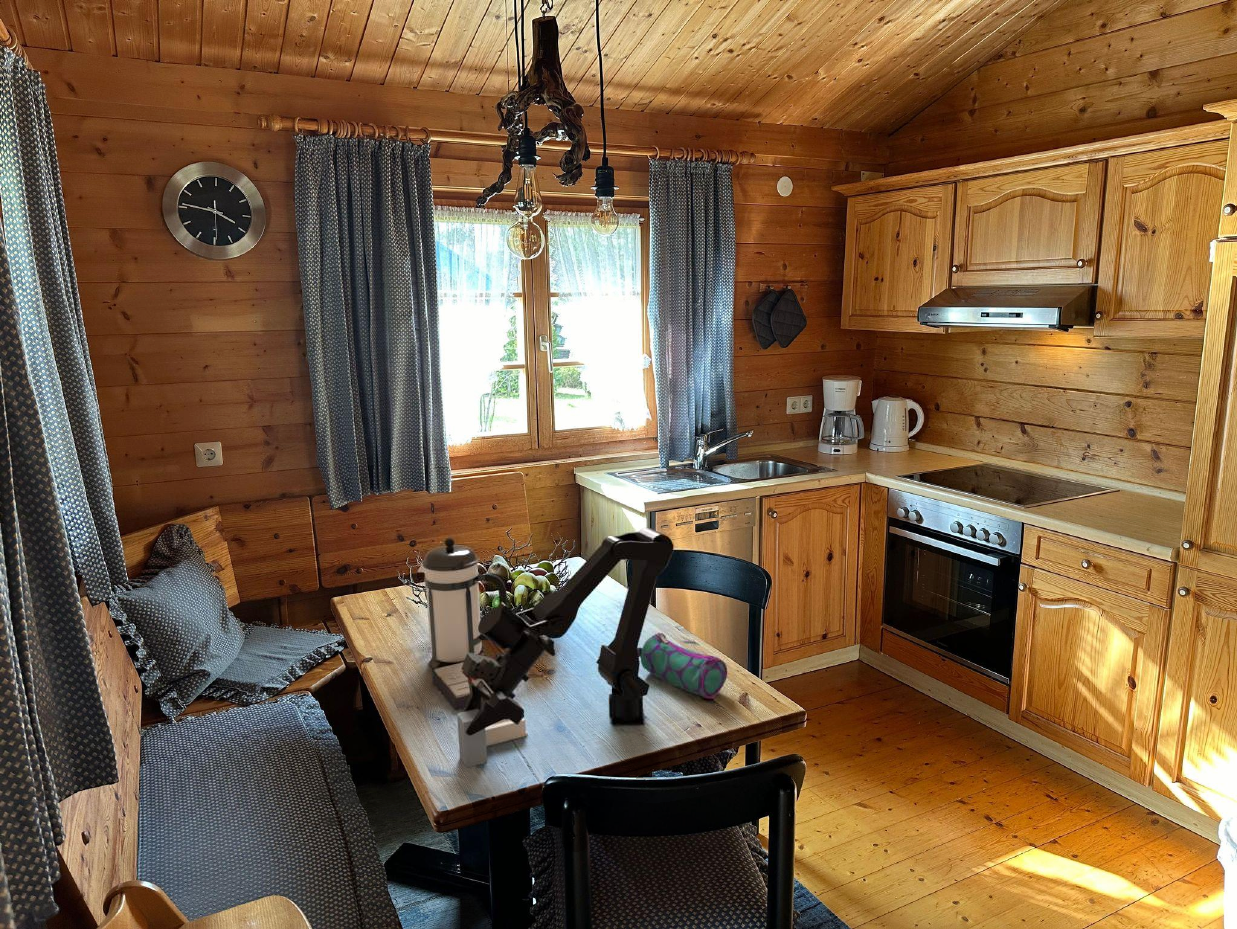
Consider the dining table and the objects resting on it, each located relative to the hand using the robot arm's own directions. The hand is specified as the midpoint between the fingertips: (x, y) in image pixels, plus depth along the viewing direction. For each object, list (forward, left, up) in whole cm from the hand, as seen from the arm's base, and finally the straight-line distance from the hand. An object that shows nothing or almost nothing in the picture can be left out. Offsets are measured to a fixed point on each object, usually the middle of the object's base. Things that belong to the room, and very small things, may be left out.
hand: (464, 729), depth 162 cm
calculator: (+5, -30, -7) cm, 31 cm away
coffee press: (+9, -47, -7) cm, 48 cm away
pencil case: (-42, -31, -7) cm, 53 cm away
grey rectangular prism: (-1, -1, -7) cm, 7 cm away
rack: (-4, -11, -7) cm, 13 cm away
